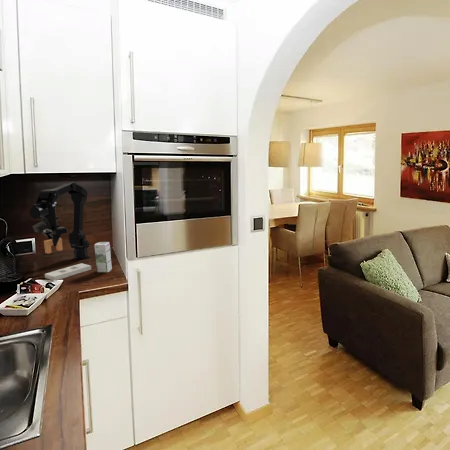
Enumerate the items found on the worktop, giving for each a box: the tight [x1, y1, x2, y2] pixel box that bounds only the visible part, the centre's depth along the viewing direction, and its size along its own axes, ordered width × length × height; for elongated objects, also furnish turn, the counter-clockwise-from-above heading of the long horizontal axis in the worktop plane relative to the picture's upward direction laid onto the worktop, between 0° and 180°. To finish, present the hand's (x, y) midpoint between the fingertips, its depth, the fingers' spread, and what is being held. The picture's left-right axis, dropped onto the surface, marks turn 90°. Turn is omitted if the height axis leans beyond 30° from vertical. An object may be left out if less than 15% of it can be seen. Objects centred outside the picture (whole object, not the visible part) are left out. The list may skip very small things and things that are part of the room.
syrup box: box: [94, 241, 113, 273], centre depth 185 cm, size 6×6×14 cm
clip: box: [43, 237, 64, 254], centre depth 187 cm, size 8×2×6 cm, turn 145°
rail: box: [44, 262, 92, 281], centre depth 183 cm, size 20×8×2 cm, turn 145°
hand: (53, 245), depth 187 cm, fingers closed on clip, 2 cm apart
